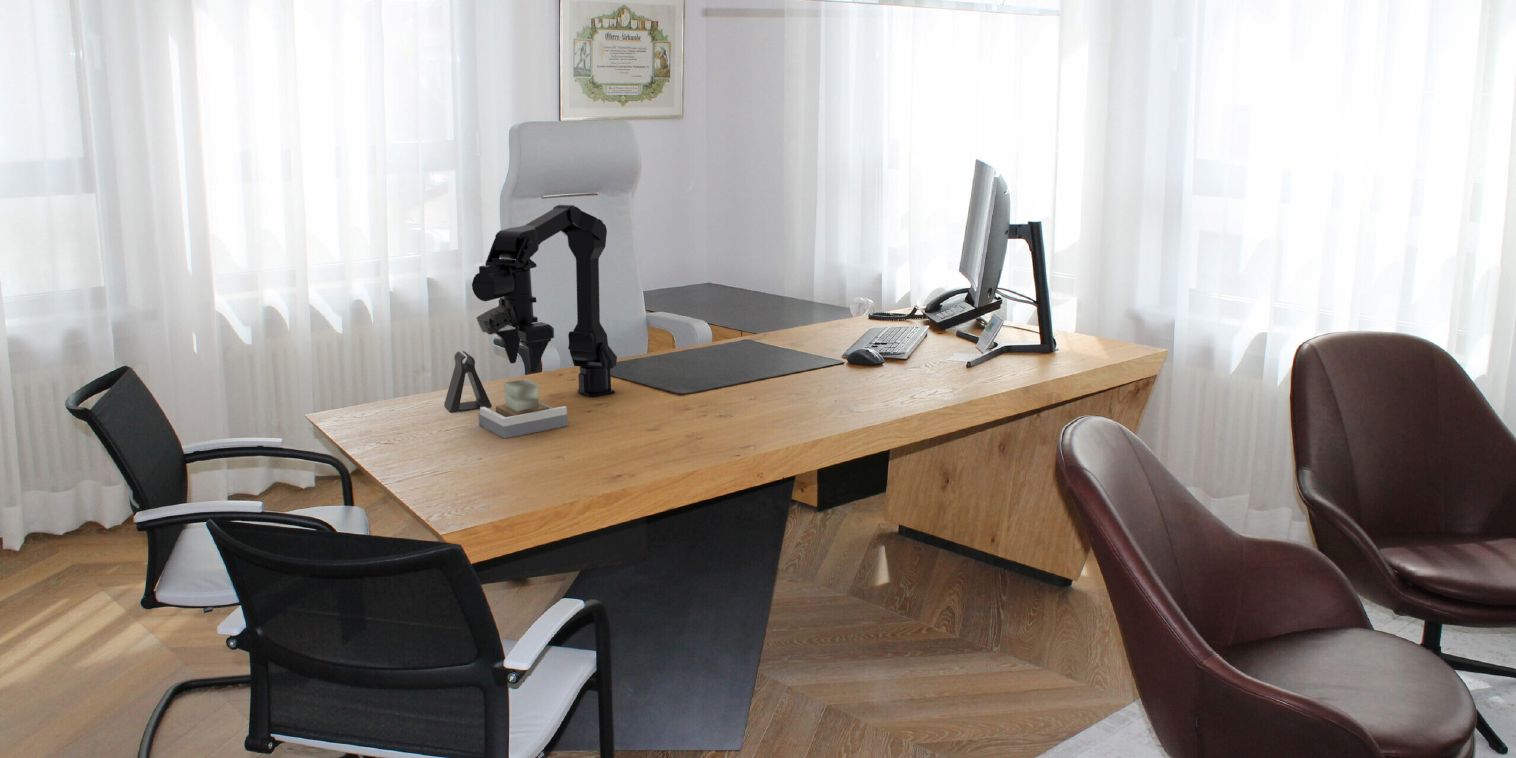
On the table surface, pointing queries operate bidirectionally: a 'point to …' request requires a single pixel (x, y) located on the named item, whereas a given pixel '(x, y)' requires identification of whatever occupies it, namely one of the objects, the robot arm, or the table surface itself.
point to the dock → (523, 421)
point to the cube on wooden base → (520, 398)
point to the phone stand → (458, 381)
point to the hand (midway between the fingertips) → (522, 367)
